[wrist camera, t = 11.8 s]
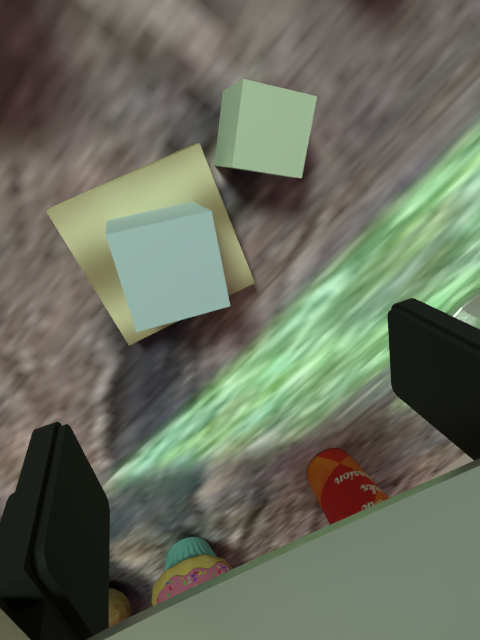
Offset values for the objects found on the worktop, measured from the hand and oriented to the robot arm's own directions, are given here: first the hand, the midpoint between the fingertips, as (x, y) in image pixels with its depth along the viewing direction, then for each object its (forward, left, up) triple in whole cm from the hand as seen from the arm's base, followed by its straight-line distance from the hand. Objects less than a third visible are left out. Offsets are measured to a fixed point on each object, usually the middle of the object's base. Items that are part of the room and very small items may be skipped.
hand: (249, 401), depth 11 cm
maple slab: (0, 0, -23) cm, 23 cm away
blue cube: (0, 0, -20) cm, 20 cm away
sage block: (+6, -9, -22) cm, 25 cm away
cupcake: (-34, +7, -22) cm, 41 cm away
